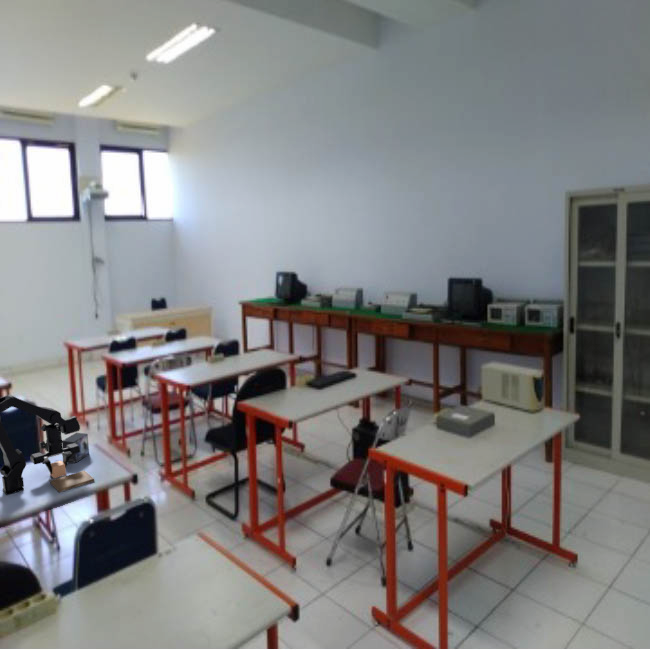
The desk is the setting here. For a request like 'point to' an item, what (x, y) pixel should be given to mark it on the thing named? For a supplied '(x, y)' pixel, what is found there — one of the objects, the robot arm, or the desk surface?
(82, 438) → the small box
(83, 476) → the walnut board
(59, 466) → the terracotta cube
